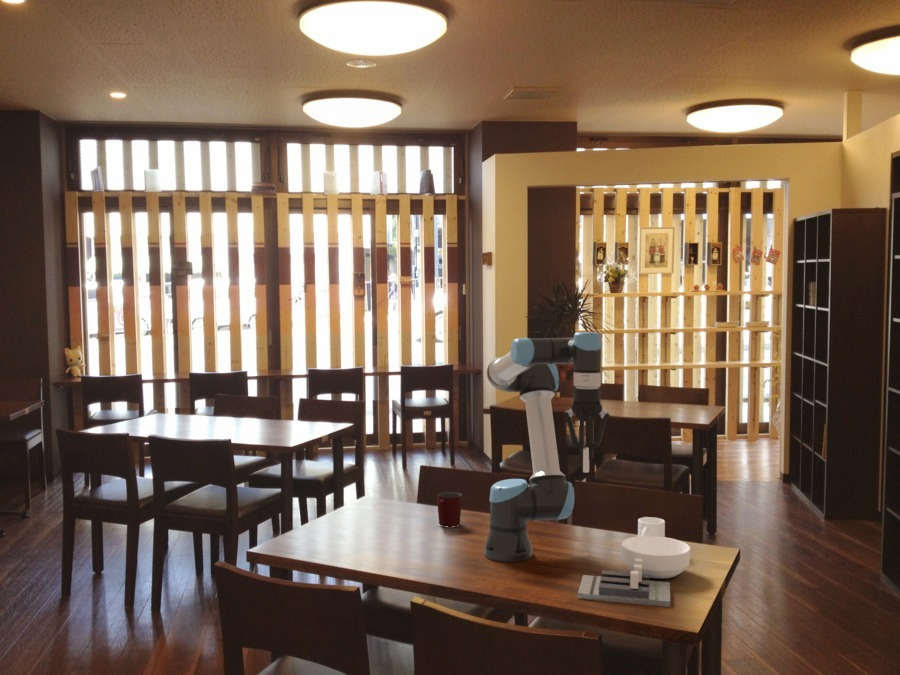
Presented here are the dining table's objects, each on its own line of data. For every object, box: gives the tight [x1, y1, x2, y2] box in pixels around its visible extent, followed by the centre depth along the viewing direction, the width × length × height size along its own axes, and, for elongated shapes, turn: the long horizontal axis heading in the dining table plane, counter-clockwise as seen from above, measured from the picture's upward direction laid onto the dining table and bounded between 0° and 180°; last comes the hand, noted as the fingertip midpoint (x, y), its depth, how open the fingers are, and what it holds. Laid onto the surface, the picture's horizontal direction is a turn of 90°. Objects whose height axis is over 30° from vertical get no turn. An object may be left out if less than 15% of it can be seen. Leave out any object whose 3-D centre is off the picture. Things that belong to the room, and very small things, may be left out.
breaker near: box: [630, 570, 638, 589], centre depth 213 cm, size 2×2×4 cm
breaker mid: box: [634, 564, 642, 582], centre depth 219 cm, size 2×2×4 cm
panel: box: [577, 569, 671, 608], centre depth 220 cm, size 24×15×4 cm, turn 75°
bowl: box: [620, 535, 691, 579], centre depth 236 cm, size 20×20×8 cm
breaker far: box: [635, 558, 642, 565], centre depth 224 cm, size 2×2×4 cm
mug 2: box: [637, 516, 666, 537], centre depth 255 cm, size 12×8×10 cm
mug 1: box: [436, 491, 463, 527], centre depth 286 cm, size 12×9×11 cm
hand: (586, 471), depth 224 cm, fingers closed
